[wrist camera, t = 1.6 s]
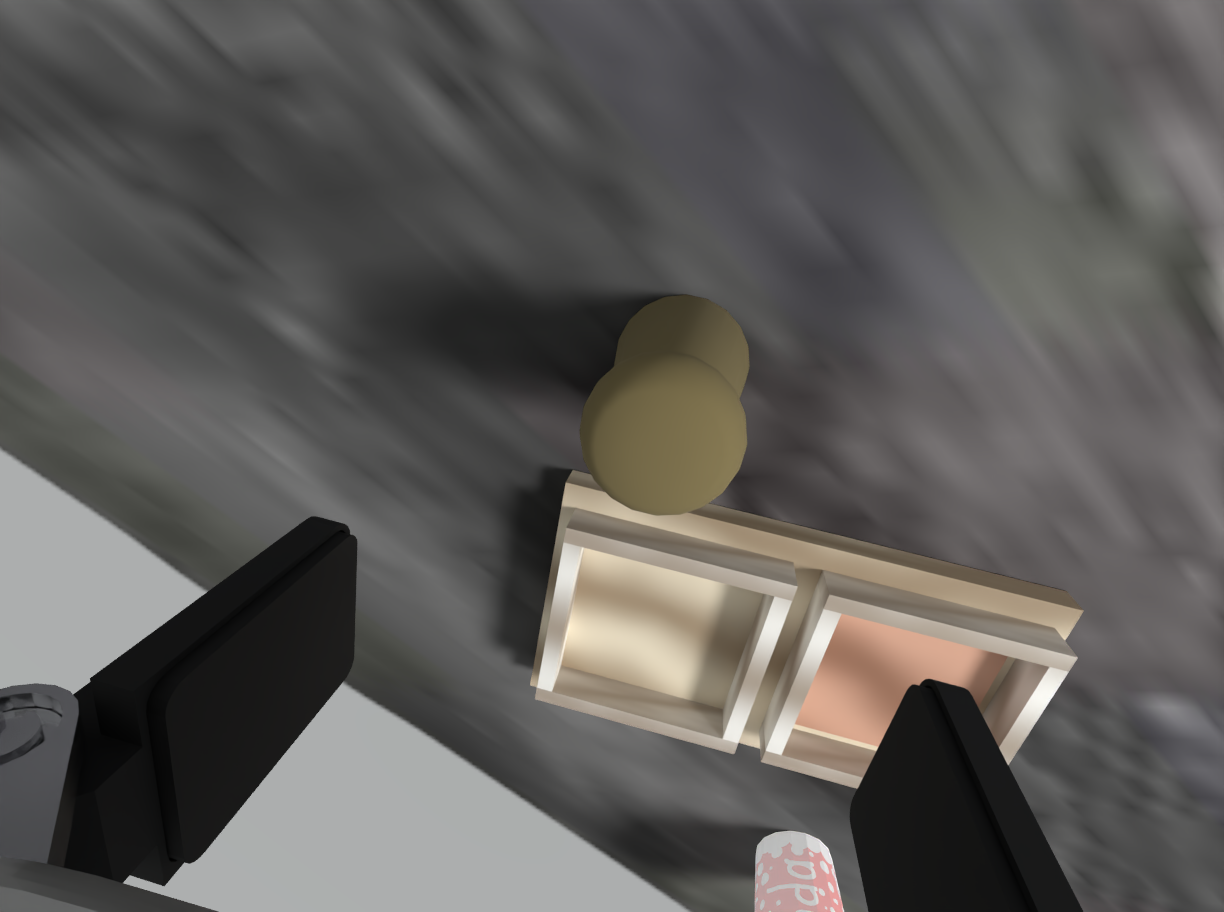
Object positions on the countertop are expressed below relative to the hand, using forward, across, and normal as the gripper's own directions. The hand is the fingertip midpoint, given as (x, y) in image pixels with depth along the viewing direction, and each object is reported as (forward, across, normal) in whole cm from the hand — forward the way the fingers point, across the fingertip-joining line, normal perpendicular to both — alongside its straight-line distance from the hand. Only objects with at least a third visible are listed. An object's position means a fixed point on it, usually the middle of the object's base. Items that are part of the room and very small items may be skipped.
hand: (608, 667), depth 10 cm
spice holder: (+20, -8, +12) cm, 24 cm away
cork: (+20, 0, -1) cm, 20 cm away
